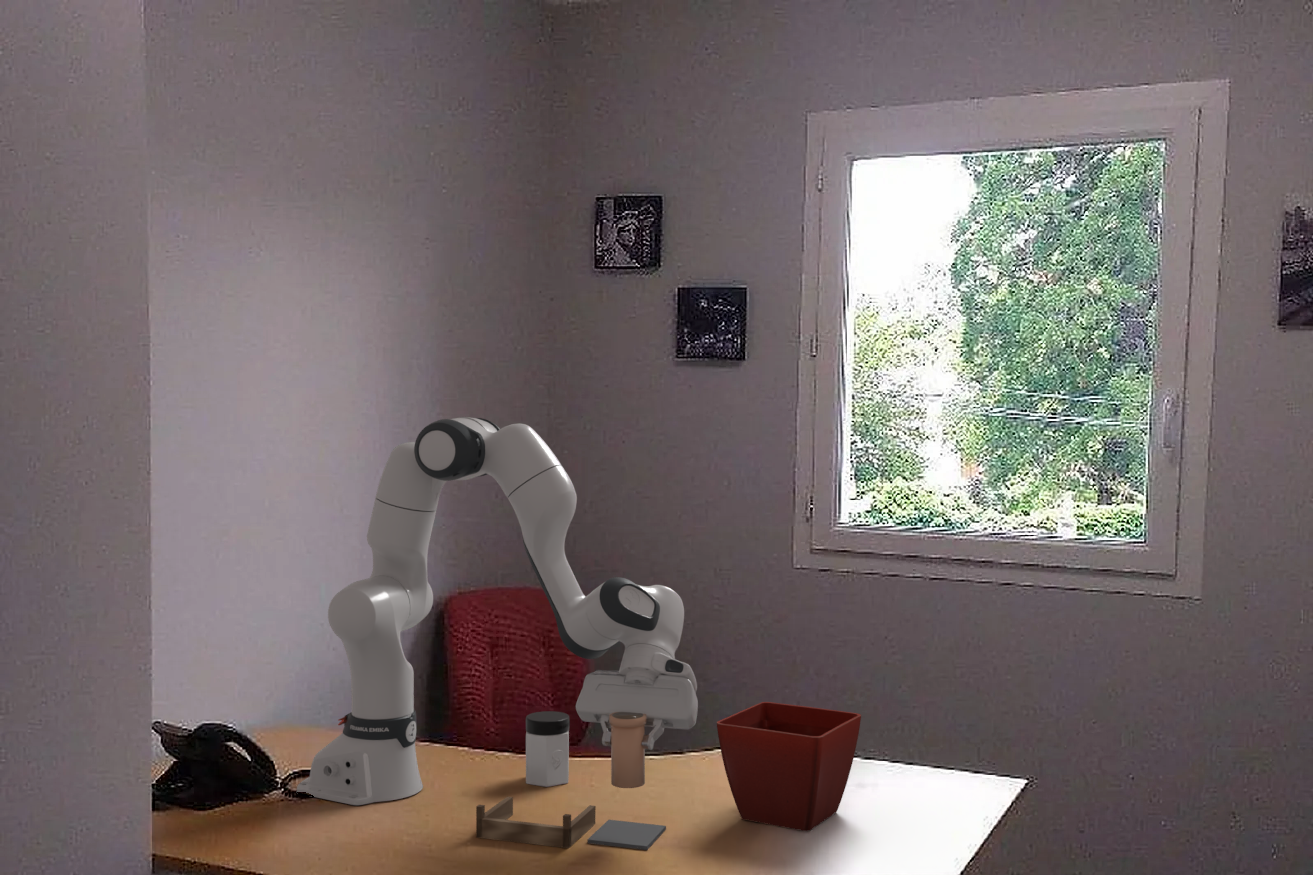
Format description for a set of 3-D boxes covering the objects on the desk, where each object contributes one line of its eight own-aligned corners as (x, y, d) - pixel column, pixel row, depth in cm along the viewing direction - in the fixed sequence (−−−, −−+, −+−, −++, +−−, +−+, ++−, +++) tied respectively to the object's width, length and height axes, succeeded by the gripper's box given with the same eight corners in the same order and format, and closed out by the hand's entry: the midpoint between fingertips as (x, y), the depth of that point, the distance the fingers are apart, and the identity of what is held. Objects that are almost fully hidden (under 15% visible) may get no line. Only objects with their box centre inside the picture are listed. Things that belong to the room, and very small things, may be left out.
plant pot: (763, 792, 217) (763, 699, 217) (862, 810, 207) (863, 713, 207) (713, 822, 200) (713, 722, 200) (819, 843, 191) (819, 738, 190)
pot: (604, 786, 191) (604, 718, 191) (616, 776, 197) (616, 709, 197) (639, 790, 190) (639, 720, 189) (651, 779, 195) (651, 712, 195)
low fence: (476, 837, 193) (476, 806, 193) (507, 814, 204) (507, 784, 204) (568, 848, 188) (568, 816, 188) (595, 823, 199) (595, 793, 199)
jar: (536, 789, 218) (536, 724, 218) (516, 778, 224) (516, 715, 224) (579, 781, 223) (579, 717, 222) (558, 771, 229) (558, 708, 229)
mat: (587, 843, 190) (587, 839, 190) (608, 823, 200) (608, 819, 200) (647, 850, 187) (647, 846, 187) (665, 829, 197) (665, 825, 197)
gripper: (583, 658, 203) (561, 730, 194) (699, 666, 197) (682, 740, 187) (592, 679, 207) (571, 750, 198) (706, 687, 201) (690, 761, 192)
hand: (626, 745), depth 193 cm, fingers closed on pot, 5 cm apart
